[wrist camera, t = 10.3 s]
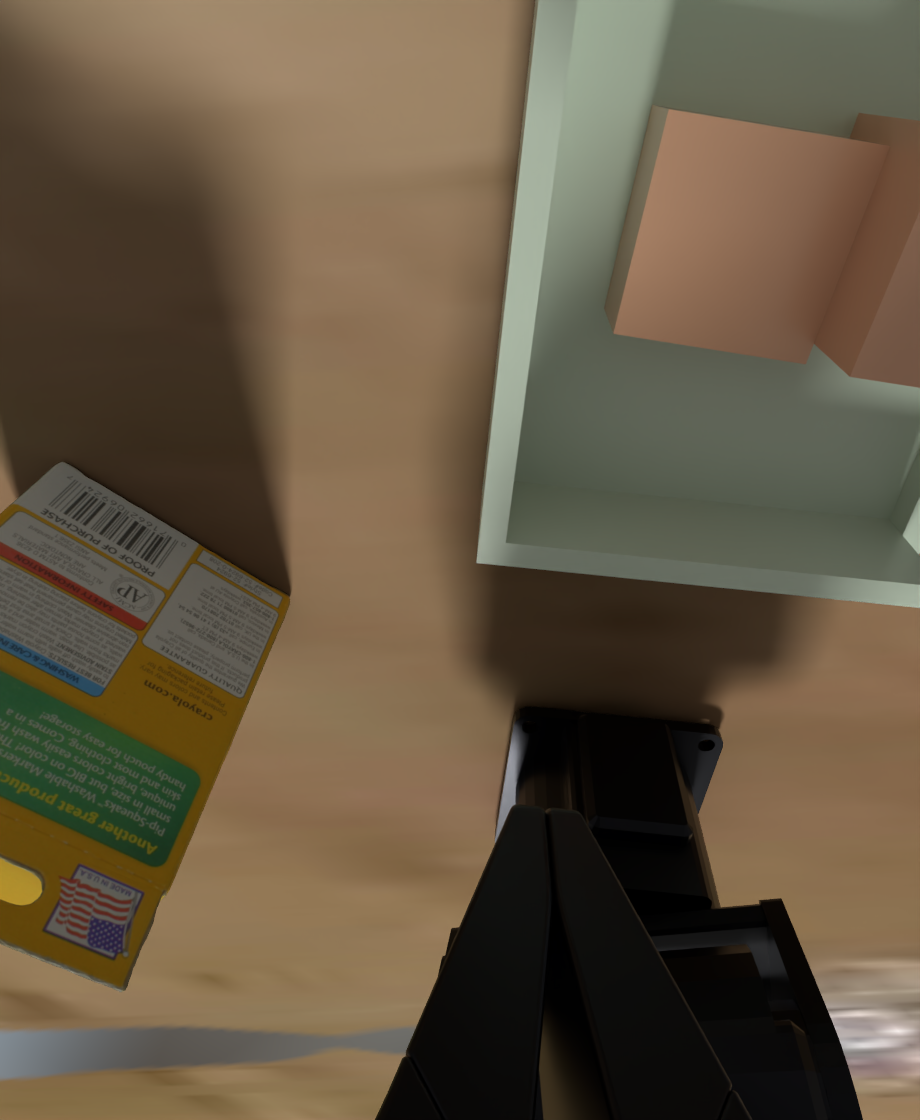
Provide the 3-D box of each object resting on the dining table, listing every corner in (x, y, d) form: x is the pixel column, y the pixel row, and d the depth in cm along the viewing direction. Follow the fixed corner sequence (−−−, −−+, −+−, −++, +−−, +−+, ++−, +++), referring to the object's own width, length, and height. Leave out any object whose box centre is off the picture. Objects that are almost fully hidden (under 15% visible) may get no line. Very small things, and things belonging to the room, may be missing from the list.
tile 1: (957, 394, 14) (850, 377, 14) (872, 331, 18) (784, 316, 17) (1083, 146, 12) (955, 126, 12) (958, 129, 15) (858, 112, 15)
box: (897, 534, 21) (961, 612, 18) (481, 492, 21) (476, 563, 18) (1187, -121, 14) (1375, -173, 11) (555, -181, 14) (566, -249, 11)
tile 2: (613, 333, 16) (604, 308, 18) (805, 364, 16) (777, 335, 18) (668, 109, 14) (652, 104, 15) (890, 146, 14) (849, 137, 16)
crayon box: (22, 531, 22) (-366, 896, 12) (60, 455, 21) (-342, 798, 11) (246, 658, 24) (65, 1058, 14) (295, 596, 23) (131, 992, 13)
